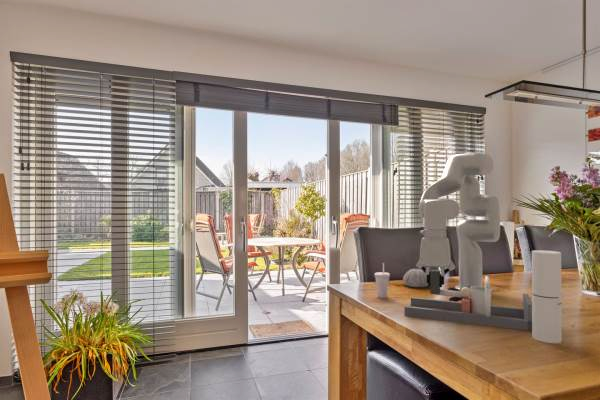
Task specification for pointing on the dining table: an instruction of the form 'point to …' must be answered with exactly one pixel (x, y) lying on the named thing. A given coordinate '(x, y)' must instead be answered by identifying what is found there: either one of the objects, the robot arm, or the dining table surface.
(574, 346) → the dining table surface
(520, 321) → the grey walled channel
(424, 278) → the sea urchin shell
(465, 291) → the foosball rod
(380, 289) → the smoothie
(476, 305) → the drinking glass
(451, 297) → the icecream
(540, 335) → the cylindrical container
